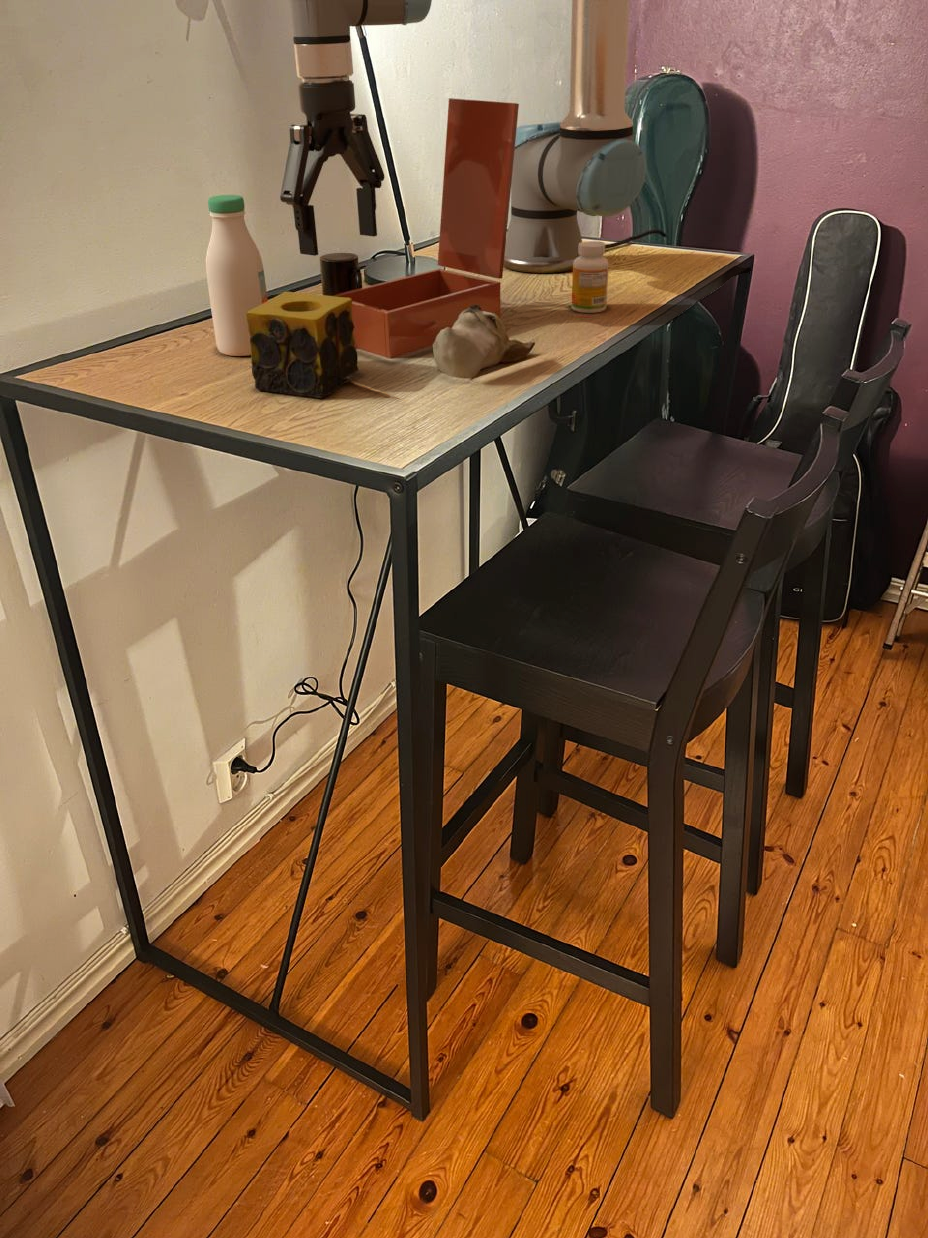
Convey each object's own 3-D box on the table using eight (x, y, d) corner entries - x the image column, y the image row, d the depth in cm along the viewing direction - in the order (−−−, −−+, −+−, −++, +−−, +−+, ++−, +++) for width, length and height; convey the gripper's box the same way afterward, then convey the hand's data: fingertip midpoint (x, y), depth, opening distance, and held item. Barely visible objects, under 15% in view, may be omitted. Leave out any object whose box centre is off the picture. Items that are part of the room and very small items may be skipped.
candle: (292, 366, 136) (284, 290, 130) (360, 374, 132) (355, 296, 127) (252, 391, 127) (241, 310, 122) (323, 400, 124) (316, 318, 119)
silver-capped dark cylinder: (317, 322, 153) (311, 256, 148) (346, 314, 157) (341, 250, 152) (349, 332, 149) (344, 264, 144) (378, 323, 152) (374, 257, 147)
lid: (515, 103, 135) (519, 103, 135) (448, 97, 142) (452, 98, 143) (498, 278, 145) (502, 278, 145) (437, 265, 152) (441, 265, 153)
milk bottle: (261, 358, 139) (241, 202, 128) (208, 355, 140) (184, 201, 129) (281, 341, 145) (264, 192, 134) (230, 339, 146) (209, 191, 136)
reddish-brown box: (390, 364, 136) (387, 312, 132) (331, 345, 143) (326, 296, 140) (500, 329, 149) (500, 281, 145) (440, 313, 156) (439, 268, 153)
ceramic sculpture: (410, 308, 126) (472, 289, 137) (410, 377, 130) (470, 353, 141) (484, 321, 121) (542, 299, 132) (481, 392, 125) (538, 365, 137)
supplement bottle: (576, 303, 160) (578, 238, 155) (609, 305, 159) (613, 240, 154) (567, 311, 156) (570, 246, 151) (601, 314, 154) (605, 248, 149)
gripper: (360, 71, 147) (371, 225, 158) (239, 87, 129) (261, 259, 140) (402, 72, 143) (410, 230, 154) (284, 88, 126) (303, 265, 137)
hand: (339, 244), depth 147 cm, fingers open, 13 cm apart
